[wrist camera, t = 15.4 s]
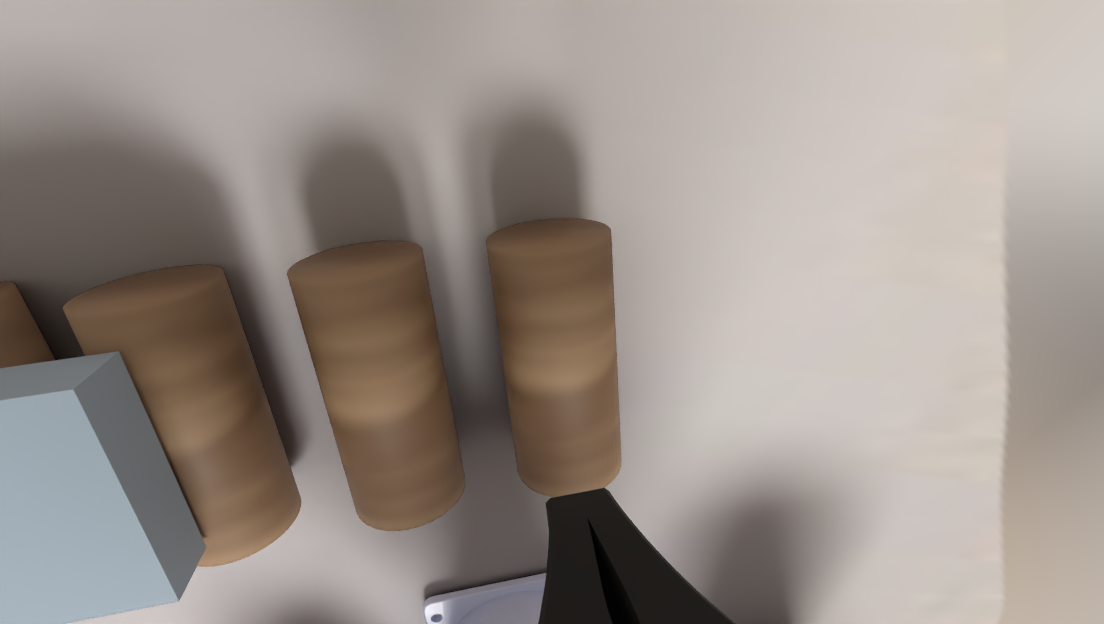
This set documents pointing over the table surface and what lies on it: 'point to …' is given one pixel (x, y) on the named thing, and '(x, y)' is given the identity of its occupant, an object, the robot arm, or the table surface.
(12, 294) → the roller
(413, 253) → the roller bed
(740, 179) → the table surface
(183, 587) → the slab
